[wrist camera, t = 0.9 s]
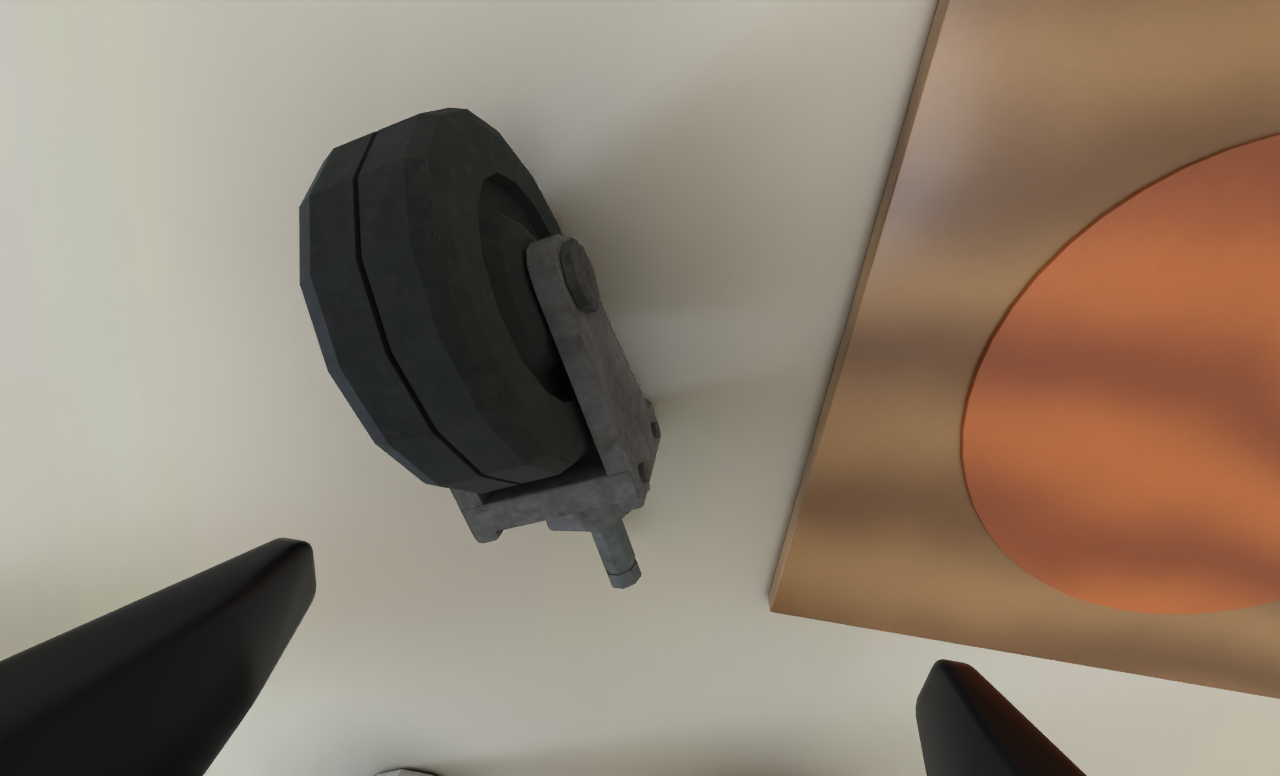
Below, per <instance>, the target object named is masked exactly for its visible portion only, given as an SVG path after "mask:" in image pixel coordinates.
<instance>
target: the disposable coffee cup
mask: <svg viewBox="0 0 1280 776" xmlns="http://www.w3.org/2000/svg"><path fill="white" fill-rule="evenodd" d="M376 776H433V775H430V774H425V773H420V772H414V771H409V770H404V769H400V770H395V771H390V772H385V773H381V774H377V775H376Z"/></svg>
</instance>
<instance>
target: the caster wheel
mask: <svg viewBox="0 0 1280 776" xmlns="http://www.w3.org/2000/svg"><path fill="white" fill-rule="evenodd" d="M299 223H300V286H301V289H302V292H303V295H304V298H305V301H306V304H307V307H308V310H309V314H310V317H311V320H312V323H313V326H314V329H315V332H316V335H317V338H318V341H319V345H320V348H321V351H322V354H323V357H324V360H325V363H326V366H327V369H328V372H329V373H330V375H331V377H332V378H333V380H334V381H335V383H336V384H337V386H338V387H339V389H340V390H341V392H342V393H343V395H344V397H345V398H346V400H347V401H348V403H349V404H350V406H351V407H352V409H353V410H354V412H355V413H356V415H357V417H358V418H359V420H360V421H361V423H362V424H363V426H364V427H365V429H366V430H367V432H368V433H369V435H370V437H371V438H372V440H373V441H374V443H375V444H376V445H378V446H379V447H380V448H381V449H383V450H384V451H385V452H386V453H388V454H389V455H390V456H391V457H393V458H394V459H395V460H396V461H398V462H399V463H400V464H401V465H403V466H404V467H405V468H406V469H408V470H409V471H410V472H411V473H413V474H414V475H415V476H416V477H418V478H419V479H420V480H421V481H423V482H424V483H426V484H430V485H435V486H440V487H446V488H450V490H451V492H452V494H453V496H454V498H455V500H456V502H457V504H458V506H459V508H460V510H461V512H462V514H463V516H464V518H465V520H466V522H467V524H468V526H469V528H470V530H471V532H472V534H473V536H474V538H475V539H476V540H477V541H478V542H479V543H486V542H491V541H495V540H497V539H498V538H499V536H500V535H501V533H502V532H503V530H504V529H509V528H513V527H517V526H522V525H526V524H531V523H535V522H539V521H544V520H546V522H547V525H548V527H549V529H551V530H553V531H591V533H592V535H593V538H594V541H595V543H596V546H597V549H598V551H599V554H600V556H601V559H602V562H603V564H604V567H605V569H606V571H607V574H608V576H609V579H610V582H611V584H612V587H614V588H621V589H624V588H627V587H629V586H631V585H633V584H635V583H636V582H637V581H638V579H639V578H640V577H641V572H640V569H639V566H638V563H637V561H636V559H635V554H634V551H633V549H632V546H631V543H630V540H629V538H628V535H627V532H626V529H625V527H624V524H623V521H622V518H623V517H624V516H625V515H626V514H628V513H629V512H630V511H631V510H633V509H638V508H641V507H642V506H643V505H644V502H645V498H646V494H647V492H648V491H649V490H650V485H649V482H650V477H651V473H652V469H653V465H654V461H655V457H656V453H657V449H658V445H659V441H660V429H659V426H658V423H657V420H656V417H655V414H654V411H653V408H652V405H651V403H650V402H649V401H648V400H644V398H643V395H642V393H641V391H640V389H639V387H638V384H637V382H636V380H635V378H634V375H633V373H632V371H631V369H630V367H629V364H628V362H627V360H626V358H625V355H624V353H623V351H622V349H621V347H620V344H619V342H618V340H617V338H616V335H615V333H614V331H613V329H612V327H611V324H610V322H609V320H608V318H607V315H606V313H605V311H604V309H603V306H602V304H601V302H600V300H599V298H600V296H599V291H598V287H597V283H596V279H595V275H594V271H593V268H592V266H591V264H590V262H589V259H588V257H587V255H586V253H585V250H584V248H583V247H582V246H581V245H580V244H579V243H578V242H577V241H576V240H575V239H571V240H567V238H566V237H564V236H562V233H561V231H560V228H559V226H558V223H557V221H556V219H555V218H554V216H553V214H552V212H551V210H550V208H549V206H548V204H547V203H546V201H545V199H544V197H543V195H542V193H541V191H540V190H539V188H538V186H537V184H536V182H535V180H534V178H533V177H532V176H531V174H530V173H529V171H528V170H527V169H526V167H525V166H524V165H523V164H522V162H521V161H520V160H519V158H518V157H517V156H516V154H515V153H514V152H513V150H512V149H511V148H510V146H509V145H508V144H507V142H506V141H505V140H504V138H503V137H502V136H501V134H500V133H499V132H498V131H497V130H495V129H494V128H493V127H491V126H490V125H489V124H487V123H486V122H484V121H483V120H482V119H480V118H479V117H477V116H476V115H475V114H473V113H472V112H470V111H469V110H468V109H459V108H446V109H441V110H436V111H430V112H425V113H420V114H418V115H415V116H413V117H410V118H408V119H405V120H403V121H400V122H398V123H395V124H393V125H390V126H388V127H385V128H383V129H381V130H379V131H377V132H373V133H371V134H368V135H366V136H363V137H361V138H358V139H356V140H353V141H351V142H349V143H346V144H344V145H341V146H339V147H336V148H334V149H333V150H332V151H331V153H330V154H329V155H328V157H327V158H326V159H325V161H324V162H323V164H322V166H321V168H320V170H319V171H318V173H317V175H316V177H315V179H314V181H313V183H312V185H311V186H310V188H309V190H308V192H307V194H306V196H305V198H304V200H303V201H302V203H301V205H300V207H299Z"/></svg>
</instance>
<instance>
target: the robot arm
mask: <svg viewBox="0 0 1280 776" xmlns="http://www.w3.org/2000/svg"><path fill="white" fill-rule="evenodd" d="M315 591H316V578H315V568H314V558H313V550H312V547H311V545H310V544H309V543H307V542H305V541H301V540H295V539H290V538H278V539H275V540H273V541H270V542H268V543H266V544H264V545H261V546H259V547H257V548H255V549H252V550H250V551H248V552H246V553H243V554H241V555H239V556H237V557H234V558H232V559H230V560H228V561H225V562H223V563H221V564H219V565H216V566H214V567H212V568H210V569H207V570H205V571H203V572H201V573H198V574H196V575H194V576H192V577H189V578H187V579H185V580H183V581H180V582H178V583H176V584H174V585H171V586H169V587H167V588H165V589H162V590H160V591H158V592H155V593H153V594H151V595H149V596H146V597H144V598H142V599H140V600H137V601H135V602H133V603H131V604H128V605H126V606H124V607H122V608H119V609H117V610H115V611H113V612H110V613H108V614H106V615H104V616H101V617H99V618H97V619H95V620H92V621H90V622H88V623H86V624H83V625H81V626H79V627H77V628H74V629H72V630H70V631H68V632H65V633H63V634H61V635H59V636H56V637H54V638H52V639H50V640H47V641H45V642H43V643H40V644H38V645H36V646H34V647H31V648H29V649H27V650H25V651H22V652H20V653H18V654H16V655H13V656H11V657H9V658H7V659H4V660H2V661H0V776H203V775H204V773H205V772H206V771H207V769H208V768H209V766H210V765H211V764H212V762H213V761H214V759H215V758H216V756H217V755H218V754H219V752H220V751H221V749H222V748H223V747H224V745H225V744H226V742H227V741H228V739H229V738H230V737H231V735H232V734H233V732H234V731H235V730H236V728H237V727H238V725H239V724H240V722H241V721H242V720H243V718H244V717H245V715H246V714H247V712H248V711H249V709H250V708H251V706H252V705H253V703H254V702H255V700H256V698H257V697H258V695H259V693H260V692H261V690H262V688H263V687H264V685H265V683H266V681H267V680H268V678H269V676H270V675H271V673H272V671H273V669H274V668H275V666H276V664H277V662H278V661H279V659H280V657H281V655H282V654H283V652H284V650H285V648H286V647H287V645H288V643H289V641H290V640H291V638H292V636H293V634H294V633H295V631H296V629H297V627H298V626H299V624H300V622H301V620H302V619H303V617H304V615H305V613H306V612H307V610H308V608H309V606H310V605H311V603H312V601H313V598H314V595H315ZM916 719H917V725H918V730H919V736H920V741H921V747H922V752H923V758H924V763H925V769H926V774H927V776H1086V775H1085V774H1084V773H1083V772H1082V771H1081V770H1080V769H1079V768H1078V767H1077V766H1076V765H1075V764H1074V763H1073V762H1072V761H1071V760H1070V759H1069V758H1068V757H1066V756H1065V755H1064V754H1063V753H1062V752H1061V751H1060V750H1059V749H1058V748H1057V747H1056V746H1055V745H1054V744H1053V743H1052V742H1051V741H1050V740H1049V739H1048V738H1047V737H1046V736H1045V735H1043V734H1042V733H1041V732H1040V731H1039V730H1038V729H1037V728H1036V727H1035V726H1034V725H1033V724H1032V723H1031V722H1030V721H1029V720H1028V719H1027V718H1026V717H1025V716H1024V715H1023V714H1022V713H1020V712H1019V711H1018V710H1017V709H1016V708H1015V707H1014V706H1013V705H1012V704H1011V703H1010V702H1009V701H1008V700H1007V699H1006V698H1005V697H1004V696H1003V695H1002V694H1001V693H1000V692H998V691H997V690H996V689H995V688H994V687H993V686H992V685H991V684H990V683H989V682H988V681H987V680H986V679H985V678H984V677H983V676H982V675H981V674H980V673H979V672H978V671H977V670H975V669H974V668H973V667H972V666H970V665H968V664H965V663H961V662H955V661H950V660H944V659H942V660H938V661H937V662H936V663H935V664H934V665H933V667H932V669H931V671H930V673H929V675H928V677H927V679H926V681H925V683H924V685H923V688H922V690H921V692H920V694H919V696H918V698H917V702H916Z"/></svg>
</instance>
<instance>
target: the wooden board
mask: <svg viewBox="0 0 1280 776" xmlns="http://www.w3.org/2000/svg"><path fill="white" fill-rule="evenodd" d="M768 599H769V606H770V611H771V612H775V613H781V614H787V615H793V616H799V617H804V618H810V619H816V620H822V621H828V622H834V623H839V624H845V625H851V626H857V627H863V628H869V629H875V630H880V631H886V632H892V633H898V634H904V635H910V636H915V637H921V638H927V639H933V640H939V641H945V642H951V643H956V644H962V645H968V646H974V647H980V648H986V649H991V650H997V651H1003V652H1009V653H1015V654H1021V655H1027V656H1032V657H1038V658H1044V659H1050V660H1056V661H1062V662H1067V663H1073V664H1079V665H1085V666H1091V667H1097V668H1103V669H1108V670H1114V671H1120V672H1126V673H1132V674H1138V675H1143V676H1149V677H1155V678H1161V679H1167V680H1173V681H1179V682H1184V683H1190V684H1196V685H1202V686H1208V687H1214V688H1219V689H1225V690H1231V691H1237V692H1243V693H1249V694H1255V695H1260V696H1266V697H1272V698H1278V699H1280V0H939V2H938V6H937V9H936V13H935V16H934V20H933V23H932V27H931V30H930V34H929V37H928V41H927V44H926V48H925V51H924V55H923V58H922V62H921V65H920V69H919V72H918V76H917V79H916V83H915V86H914V89H913V93H912V96H911V100H910V103H909V107H908V110H907V114H906V117H905V121H904V124H903V128H902V131H901V135H900V138H899V142H898V145H897V149H896V152H895V156H894V159H893V163H892V166H891V170H890V173H889V177H888V180H887V184H886V187H885V191H884V194H883V198H882V201H881V205H880V208H879V212H878V215H877V219H876V222H875V226H874V229H873V233H872V236H871V240H870V243H869V247H868V250H867V254H866V257H865V261H864V264H863V268H862V271H861V275H860V278H859V282H858V285H857V289H856V292H855V296H854V299H853V303H852V306H851V310H850V313H849V317H848V320H847V324H846V327H845V331H844V334H843V338H842V341H841V345H840V348H839V352H838V355H837V359H836V362H835V366H834V369H833V373H832V376H831V380H830V383H829V387H828V390H827V394H826V397H825V401H824V404H823V408H822V411H821V415H820V418H819V422H818V425H817V429H816V432H815V436H814V439H813V443H812V446H811V450H810V453H809V457H808V460H807V464H806V467H805V471H804V474H803V478H802V481H801V485H800V488H799V492H798V495H797V499H796V502H795V506H794V509H793V513H792V516H791V520H790V523H789V527H788V530H787V534H786V537H785V541H784V544H783V548H782V551H781V555H780V558H779V562H778V565H777V569H776V572H775V576H774V579H773V583H772V586H771V590H770V593H769V597H768Z"/></svg>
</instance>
